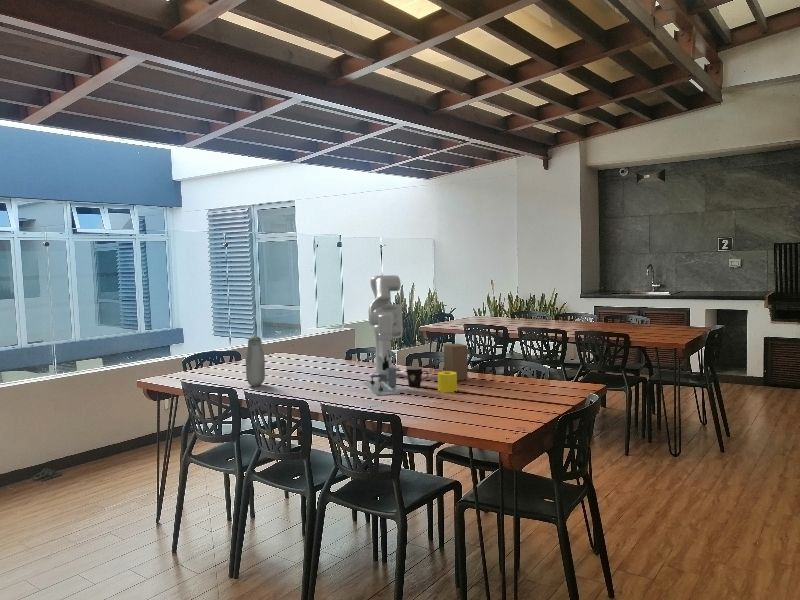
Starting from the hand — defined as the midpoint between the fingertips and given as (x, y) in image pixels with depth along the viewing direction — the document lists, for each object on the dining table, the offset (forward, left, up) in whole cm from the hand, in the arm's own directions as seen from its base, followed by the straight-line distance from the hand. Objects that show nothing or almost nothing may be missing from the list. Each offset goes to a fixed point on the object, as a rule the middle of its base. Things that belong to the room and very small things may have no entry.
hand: (385, 369), depth 332 cm
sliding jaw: (+3, +12, -7) cm, 14 cm away
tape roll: (-28, +20, -10) cm, 36 cm away
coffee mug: (-16, +4, -10) cm, 19 cm away
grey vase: (+68, -31, -10) cm, 75 cm away
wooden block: (-43, -6, -10) cm, 45 cm away
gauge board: (+4, +3, -10) cm, 11 cm away
